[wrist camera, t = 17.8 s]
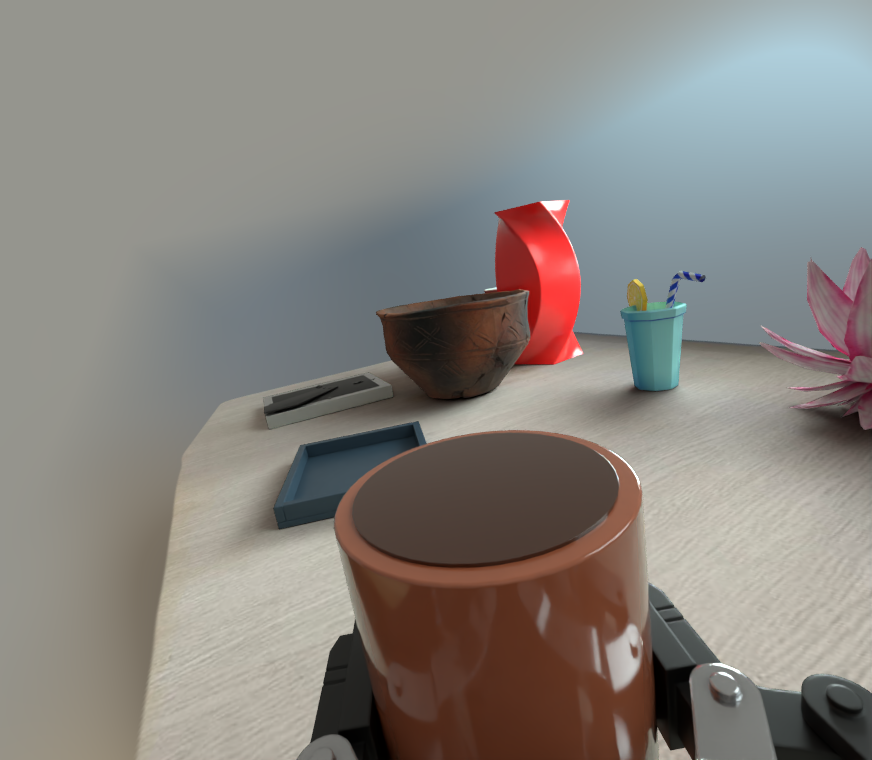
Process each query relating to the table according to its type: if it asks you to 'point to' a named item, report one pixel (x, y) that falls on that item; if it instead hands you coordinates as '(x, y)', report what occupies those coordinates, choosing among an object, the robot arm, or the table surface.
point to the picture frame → (324, 399)
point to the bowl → (458, 341)
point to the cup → (655, 335)
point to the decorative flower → (839, 337)
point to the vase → (541, 277)
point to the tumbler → (504, 599)
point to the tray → (337, 470)
